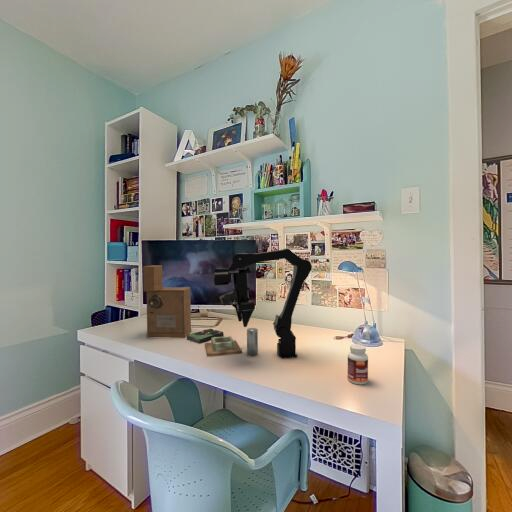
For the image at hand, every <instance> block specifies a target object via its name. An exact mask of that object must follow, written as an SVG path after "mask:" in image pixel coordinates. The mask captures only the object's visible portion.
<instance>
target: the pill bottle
mask: <svg viewBox="0 0 512 512" xmlns="http://www.w3.org/2000/svg"><path fill="white" fill-rule="evenodd" d="M347 380H348V381H349V382H350V383H352V384H355V385H361V386H362V385H365V384H367V383H368V382H369V356H368V354H367V353H366V346H365V345H364V344H363V345H362V344H359V343H358V344H355V343H353V344H350V345H349V352H348V353H347Z"/></svg>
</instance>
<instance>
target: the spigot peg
mask: <svg viewBox="0 0 512 512" xmlns="http://www.w3.org/2000/svg"><path fill="white" fill-rule="evenodd" d="M258 331H259V330H258V328H257V327H250V328H247V329H246V355H247V356H249V357H255V356H258V355H259V342H258V341H259V334H258V333H259V332H258Z"/></svg>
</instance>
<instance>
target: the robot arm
mask: <svg viewBox="0 0 512 512" xmlns="http://www.w3.org/2000/svg"><path fill="white" fill-rule="evenodd" d="M283 259H284V260H286V261H287V262H288V263H289V264H290V265H291V266H293V273H292V281H291V283H290V288H289V290H288V293H287V296H286V298H285V299H286V300H285V302H284V304H283V305H284V306H283V308H282V311H281V313H280V314H279V315H278V314H276V315H275V316H274V317H275V318H274V321H273V323H272V325H273V329H274V332H275V334H276V336H277V337H278V340H277V343H276V353H277V355H278V356H279V357H280V358H281V359H287V358H288V359H289V358H290V359H291V358H298V354H297V352H296V351H297V350H296V347H297V346H296V341H297V340H296V339H297V337H296V335H295V334H294V332H293V331H292V330H291V329H292V320H293V319H292V316H293V314H294V310H295V308H296V305H297V302H298V299H299V296H300V294H301V290H302V287H303V284H304V282H305V281H306V279H308V277H309V275H310V273H311V271H312V269H313V266H312V263H311V261H309V260H308V259H304V258H301V257H300V256H299V255H297V254H295V252H293V251H292V250H291V249H289V248H283V249H277V250H270V251H264V252H257V253H256V252H255V253H252V252H251V253H247V252H238V253H236V254H234V256H233V257H232V263H231V265H229V266H228V268H214V277H213V281H214V287H217V286H230V284H231V283H232V284H233V286H232V287H231V291H230V292H226V293H225V294H222V295H220V296H219V300H220V302H221V304H222V305H223V306H227V305H228V304H230V305H231V306H232V307H233V308H234V310H235V311H236V316H237V320H238V322H242V325H243V327H244V328H247V326H248V324H249V321H250V319H251V317H252V314H253V312H254V310H256V304H255V303H254V302H253V301H252V300H251V298H250V297H249V295H250V294H249V291H250V289H251V288H250V286H249V275H248V274H252V273H253V271H252V269H251V268H250V267H249V266H251V265H253V264H257V263H264V262H270V261H277V260H283ZM245 267H246V268H245ZM237 269H238V271H236V270H237ZM232 276H233V277H232Z"/></svg>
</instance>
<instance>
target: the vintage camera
mask: <svg viewBox="0 0 512 512" xmlns="http://www.w3.org/2000/svg"><path fill="white" fill-rule="evenodd" d="M142 273H143V274H142V282H143V287H142V288H143V289H142V290H143V292H146V338H150V337H171V338H172V339H177V338H178V339H186V338H187V335H189V334H192V319H191V318H192V317H191V316H192V313H191V312H192V307H191V306H192V305H191V304H192V303H191V287H190V286H187V287H184V286H183V287H182V286H181V287H179V286H178V287H177V286H176V287H175V286H174V287H173V286H172V287H171V286H169V287H168V286H167V287H166V286H165V287H163V265H161V264H160V265H159V264H158V265H153V264H152V265H145V266H143V267H142ZM185 337H186V338H185ZM171 338H170V339H171Z"/></svg>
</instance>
